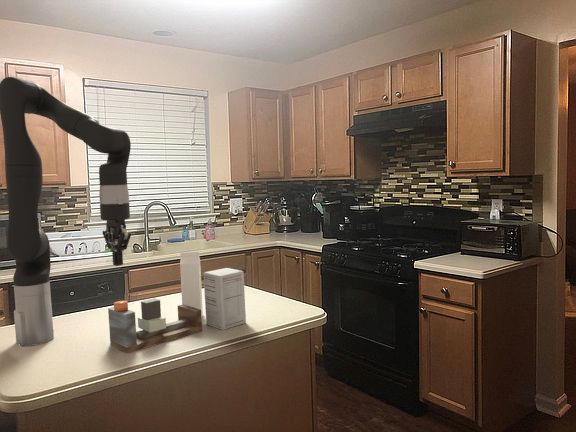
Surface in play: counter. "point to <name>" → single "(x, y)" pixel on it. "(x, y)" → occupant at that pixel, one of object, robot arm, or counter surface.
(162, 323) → the carriage
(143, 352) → the counter surface
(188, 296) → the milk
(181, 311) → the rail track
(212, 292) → the supplement box
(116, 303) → the button
